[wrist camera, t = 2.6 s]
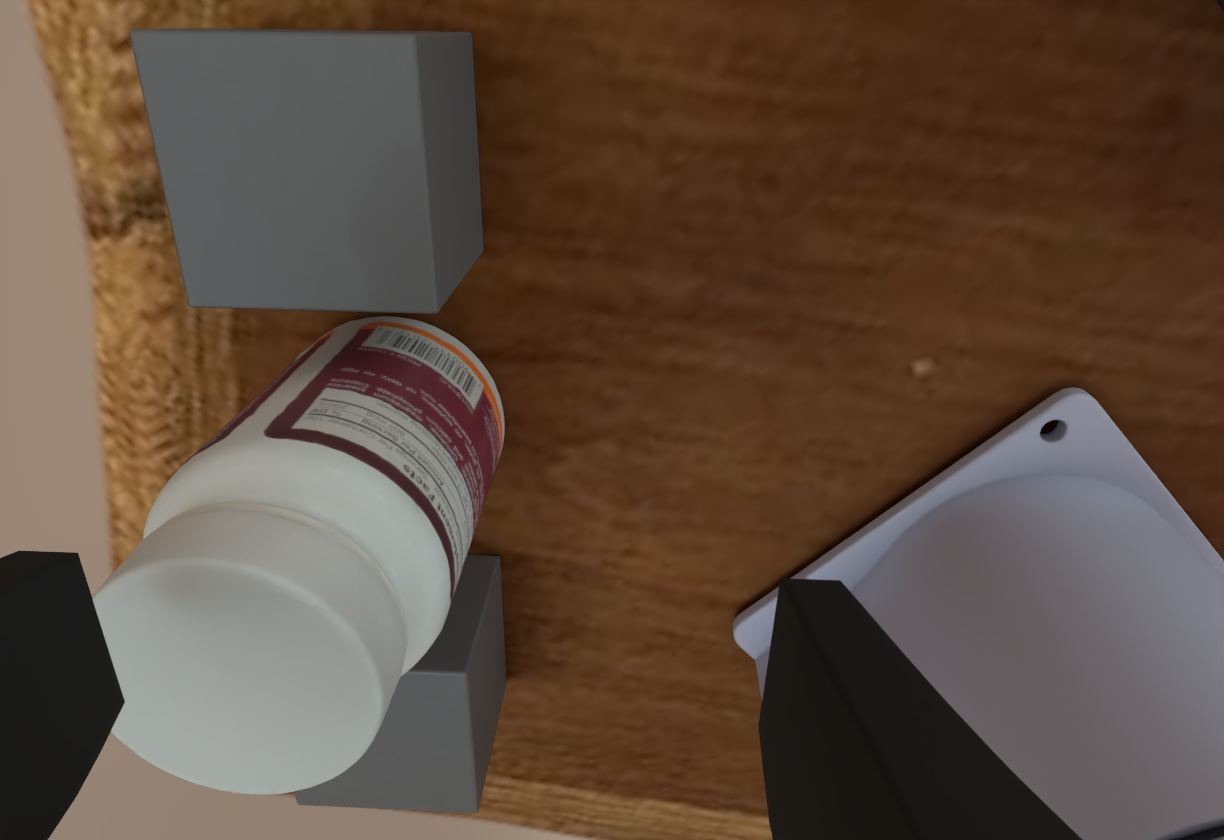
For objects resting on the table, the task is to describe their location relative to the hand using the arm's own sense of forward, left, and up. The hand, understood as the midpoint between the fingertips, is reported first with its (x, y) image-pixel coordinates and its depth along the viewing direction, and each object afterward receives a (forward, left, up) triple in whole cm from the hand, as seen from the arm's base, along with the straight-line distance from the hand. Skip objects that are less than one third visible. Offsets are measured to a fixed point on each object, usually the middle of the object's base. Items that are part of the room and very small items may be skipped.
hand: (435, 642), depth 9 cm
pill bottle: (-4, +1, -10) cm, 10 cm away
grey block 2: (-8, -3, -10) cm, 13 cm away
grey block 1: (0, +5, -10) cm, 11 cm away
